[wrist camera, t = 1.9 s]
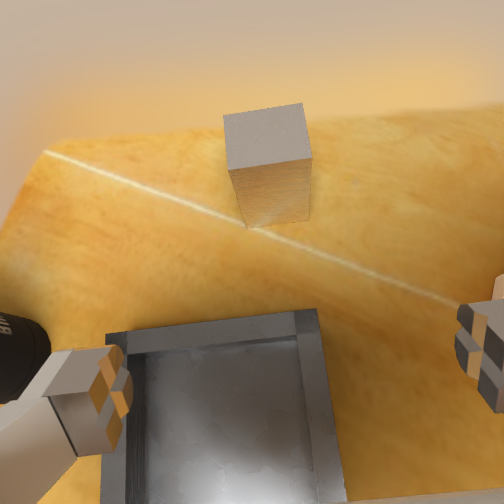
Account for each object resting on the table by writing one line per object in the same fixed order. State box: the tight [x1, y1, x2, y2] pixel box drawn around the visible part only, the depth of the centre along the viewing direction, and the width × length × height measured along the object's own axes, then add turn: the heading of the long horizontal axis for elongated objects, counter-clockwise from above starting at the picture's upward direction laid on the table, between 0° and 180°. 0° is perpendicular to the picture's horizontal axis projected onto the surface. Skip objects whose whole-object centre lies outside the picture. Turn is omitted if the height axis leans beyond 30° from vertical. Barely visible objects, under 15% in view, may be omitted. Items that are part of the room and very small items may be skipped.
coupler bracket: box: [100, 308, 347, 504], centre depth 24 cm, size 14×14×4 cm
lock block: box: [223, 103, 312, 229], centre depth 27 cm, size 4×5×9 cm
